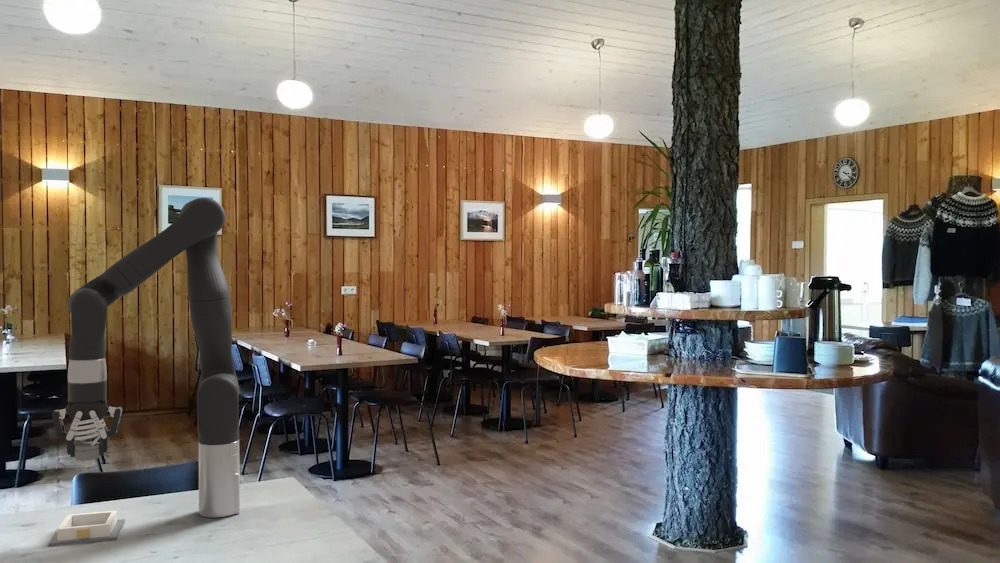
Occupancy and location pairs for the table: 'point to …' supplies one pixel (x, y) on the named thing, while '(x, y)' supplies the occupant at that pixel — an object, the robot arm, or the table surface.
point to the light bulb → (87, 443)
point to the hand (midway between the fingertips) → (87, 455)
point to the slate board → (112, 536)
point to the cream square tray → (87, 525)
